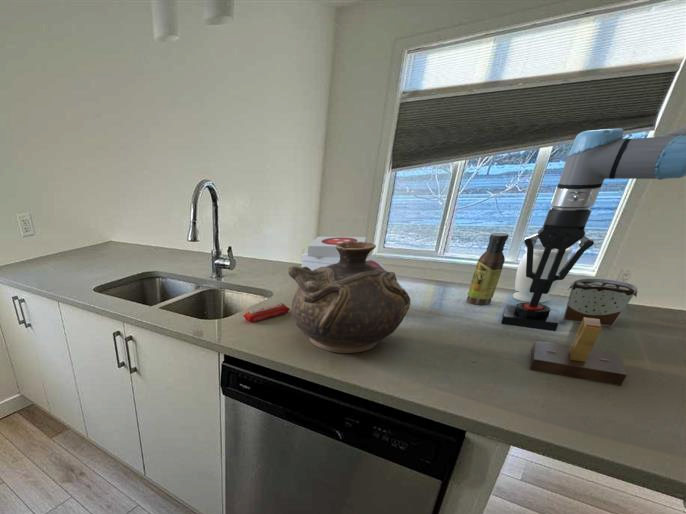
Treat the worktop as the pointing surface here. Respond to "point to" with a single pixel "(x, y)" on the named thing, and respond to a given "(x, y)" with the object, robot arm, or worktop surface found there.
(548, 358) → the plate
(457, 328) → the worktop surface
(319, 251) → the pizza boxes
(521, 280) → the jar
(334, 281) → the vessel
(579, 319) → the food container
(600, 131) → the robot arm
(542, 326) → the set button box
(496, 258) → the sauce bottle
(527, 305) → the set button
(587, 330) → the thumb turn
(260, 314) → the candy bar
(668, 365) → the worktop surface
